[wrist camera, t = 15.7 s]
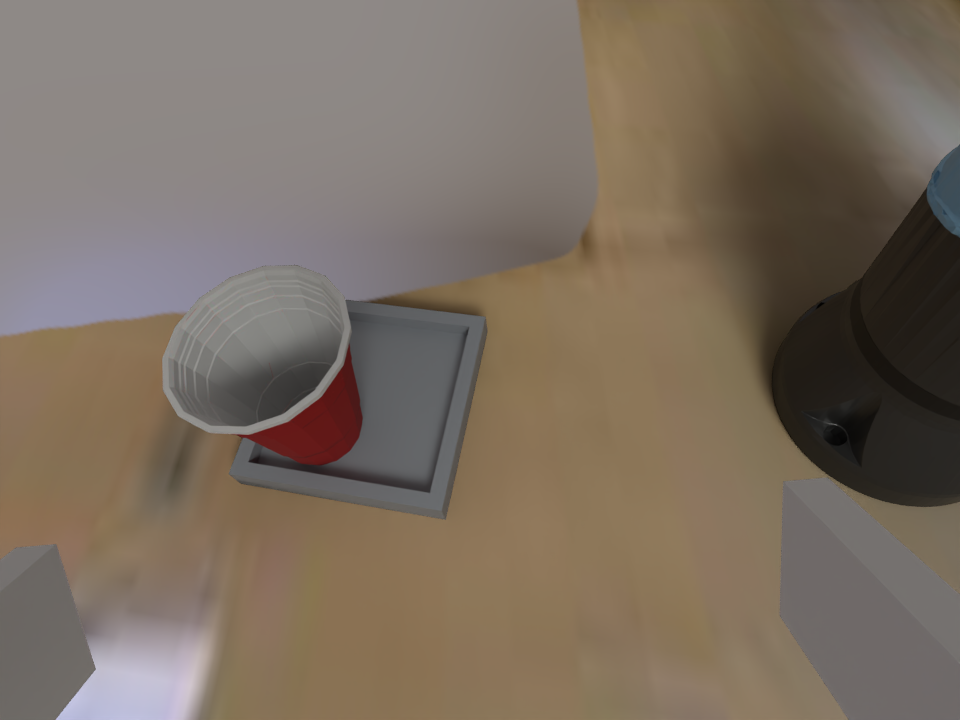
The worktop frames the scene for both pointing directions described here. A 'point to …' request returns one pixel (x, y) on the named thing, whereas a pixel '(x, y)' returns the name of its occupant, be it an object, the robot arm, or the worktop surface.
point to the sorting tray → (392, 414)
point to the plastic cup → (269, 364)
